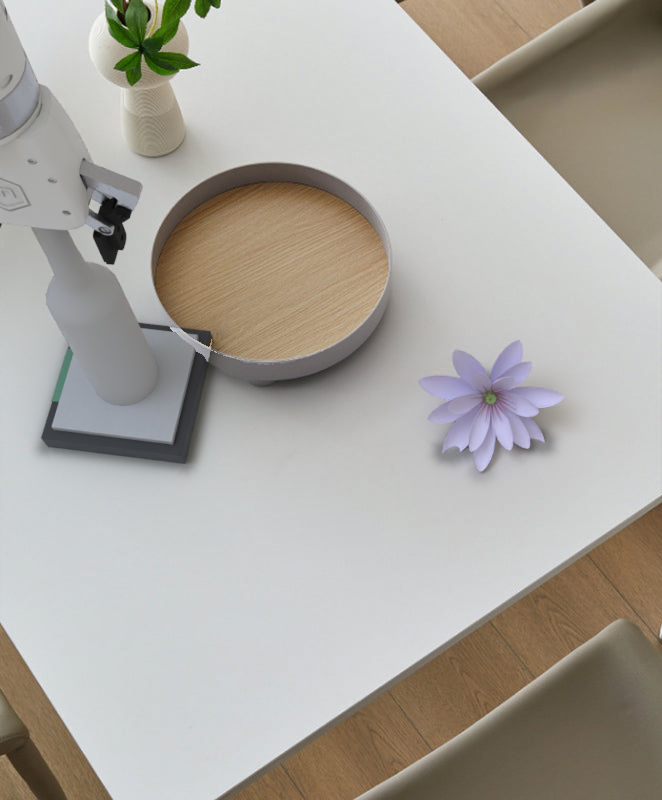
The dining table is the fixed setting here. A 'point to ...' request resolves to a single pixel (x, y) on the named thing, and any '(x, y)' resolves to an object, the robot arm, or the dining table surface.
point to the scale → (138, 423)
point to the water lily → (488, 403)
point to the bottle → (97, 322)
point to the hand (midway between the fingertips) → (54, 241)
